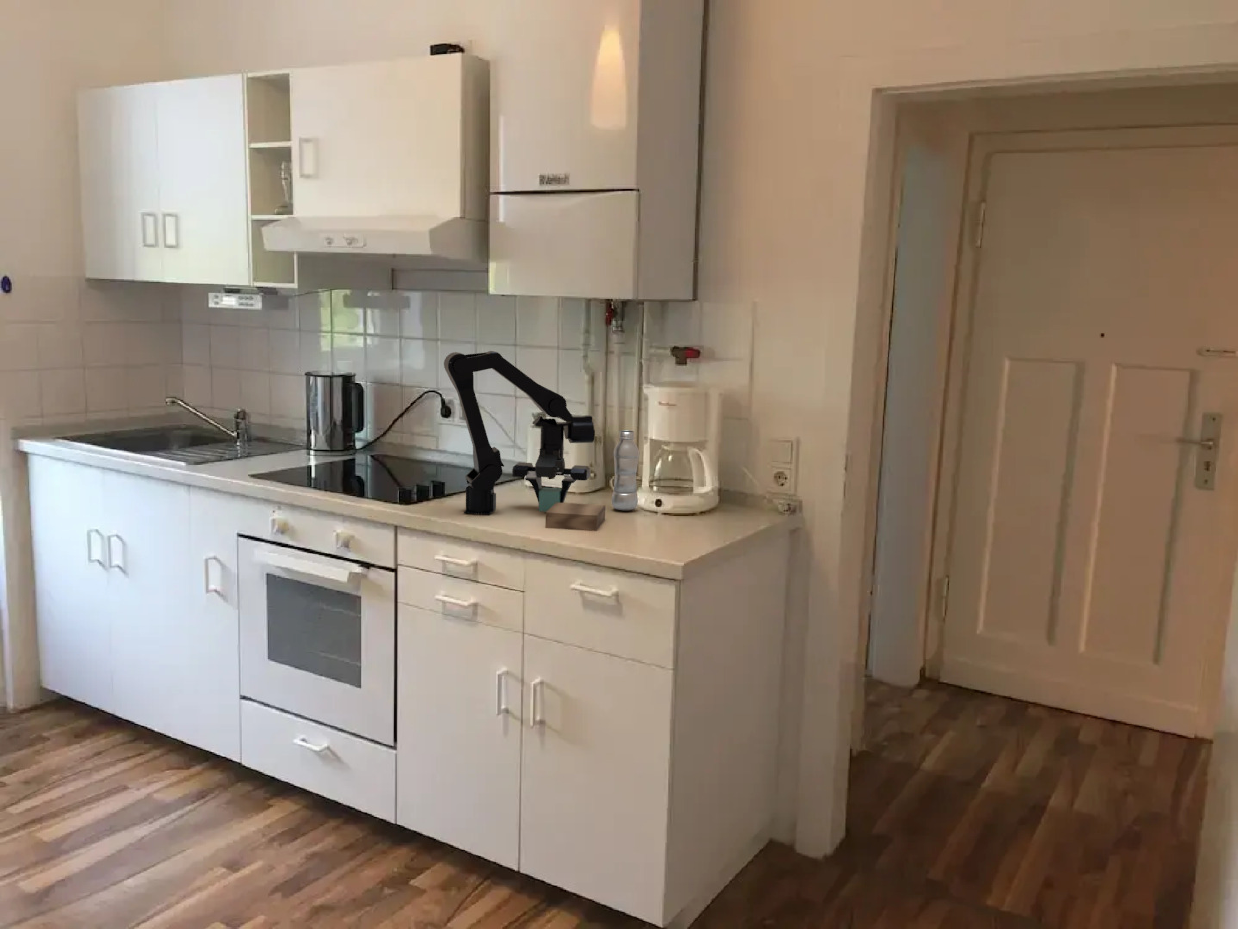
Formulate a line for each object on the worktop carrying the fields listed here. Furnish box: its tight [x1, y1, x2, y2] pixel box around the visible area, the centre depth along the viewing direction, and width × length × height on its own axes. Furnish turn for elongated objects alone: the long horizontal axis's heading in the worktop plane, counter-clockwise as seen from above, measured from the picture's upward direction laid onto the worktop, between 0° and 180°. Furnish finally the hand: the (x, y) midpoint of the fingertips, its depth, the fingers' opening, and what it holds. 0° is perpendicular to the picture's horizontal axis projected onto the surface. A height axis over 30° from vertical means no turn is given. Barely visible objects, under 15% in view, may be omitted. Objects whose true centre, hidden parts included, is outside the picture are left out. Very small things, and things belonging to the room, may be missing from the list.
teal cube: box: [538, 487, 562, 512], centre depth 261 cm, size 5×5×5 cm
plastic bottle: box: [611, 429, 640, 512], centre depth 261 cm, size 6×7×20 cm
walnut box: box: [544, 502, 606, 532], centre depth 246 cm, size 12×12×4 cm
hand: (550, 505), depth 261 cm, fingers closed on teal cube, 5 cm apart
